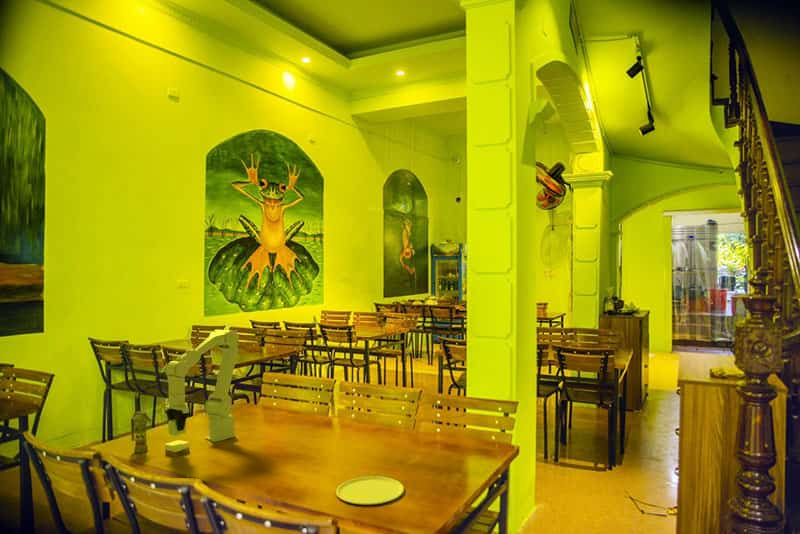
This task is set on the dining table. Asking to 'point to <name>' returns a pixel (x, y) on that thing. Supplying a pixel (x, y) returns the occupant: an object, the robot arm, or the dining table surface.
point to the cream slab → (176, 445)
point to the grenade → (139, 430)
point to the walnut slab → (177, 452)
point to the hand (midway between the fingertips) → (177, 429)
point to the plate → (370, 490)
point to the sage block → (175, 428)
